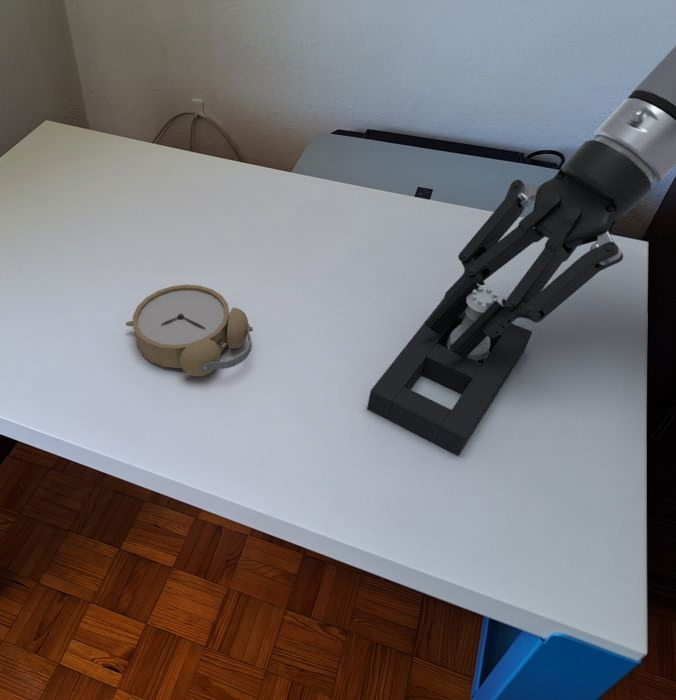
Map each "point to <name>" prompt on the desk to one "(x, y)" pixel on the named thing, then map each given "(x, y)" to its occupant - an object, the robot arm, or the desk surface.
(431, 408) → the socket pad
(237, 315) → the alarm clock
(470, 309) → the rook chess piece
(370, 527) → the desk surface
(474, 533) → the desk surface
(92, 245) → the desk surface
